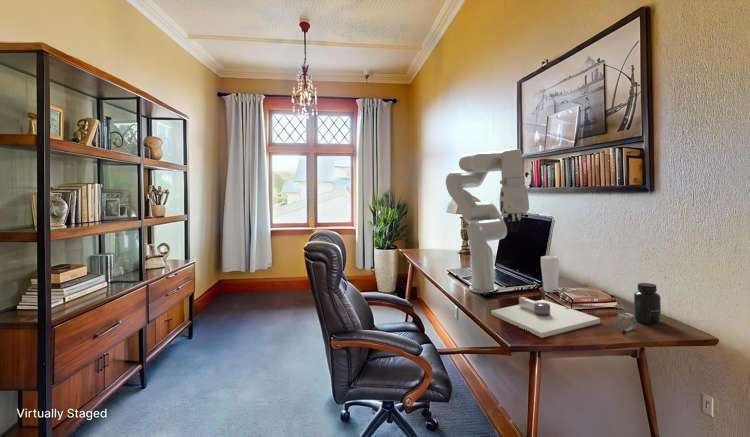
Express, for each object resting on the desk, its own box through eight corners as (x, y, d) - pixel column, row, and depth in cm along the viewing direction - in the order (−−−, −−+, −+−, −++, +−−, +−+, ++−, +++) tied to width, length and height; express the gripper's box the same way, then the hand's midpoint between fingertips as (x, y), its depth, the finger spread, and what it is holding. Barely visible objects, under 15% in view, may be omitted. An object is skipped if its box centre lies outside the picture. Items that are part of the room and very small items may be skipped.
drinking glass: (562, 293, 149) (561, 257, 148) (546, 294, 150) (545, 259, 149) (555, 289, 156) (553, 255, 155) (539, 290, 156) (537, 256, 155)
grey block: (553, 314, 122) (553, 304, 122) (542, 316, 120) (541, 307, 120) (526, 304, 134) (526, 296, 134) (515, 306, 132) (515, 298, 132)
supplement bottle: (658, 326, 110) (657, 288, 109) (631, 322, 115) (630, 285, 114) (663, 320, 114) (662, 283, 114) (637, 316, 120) (636, 280, 119)
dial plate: (491, 314, 131) (491, 310, 131) (543, 303, 139) (542, 299, 139) (541, 337, 108) (541, 332, 108) (600, 322, 116) (600, 317, 116)
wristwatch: (630, 327, 111) (630, 311, 111) (639, 330, 108) (638, 314, 108) (614, 330, 110) (614, 314, 109) (623, 334, 107) (622, 317, 107)
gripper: (502, 183, 129) (504, 234, 130) (536, 181, 133) (538, 230, 134) (489, 184, 136) (492, 232, 137) (522, 182, 140) (524, 228, 141)
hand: (514, 231), depth 136 cm, fingers closed
